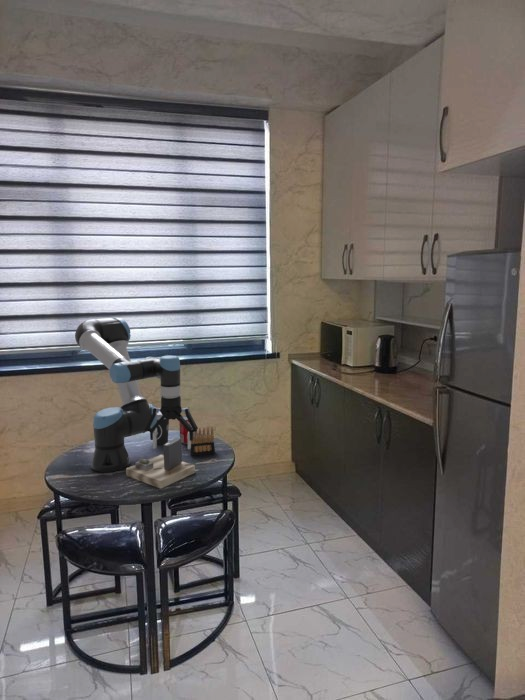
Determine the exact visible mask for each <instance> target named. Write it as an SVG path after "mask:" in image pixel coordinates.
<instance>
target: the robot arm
mask: <svg viewBox="0 0 525 700" xmlns="http://www.w3.org/2000/svg"><path fill="white" fill-rule="evenodd" d="M74 333H75V334H74V338H75V342H76V344H77V346H78V347H80V349H82V350H84V351H85V352H89V353H90V354H91V355H92V356H94V357H95V359H97V360H98V361H99V362H100V363H101V364H102V365H104V367H106V368H107V369H108V370H109V377H110V380H111V381H112V382H113V384H114V383H115V384H116V386H117V389H118V392H119V395H120V399H121V402H122V403H121V405H120V406H119V407H118V406H112V407H107V408H104V409H101V410H99V411H97V412H96V413H95V414H94V415H93V420H92V421H93V424H92V427H93V436H94V438H93V439H94V452H93V456H92V459H91V463H90V464H91V469H92V470H94V471H96V472H102V473H108V472H109V473H111V472H117V471H121V470H123V469H126V468H128V467H129V466H130V463H131V461H130V456H129V453H128V450H127V449H126V446H125V438H129V437H131V436H133V437H134V436H136V435H140V434H145V433H148V432H149V435H150V436H149V439H150V441H152V449H153V450H156V449H157V446H158V445H157V438H156V431H154V430H155V429H156V428H157V426H158V425H159V424H160V423H161V422H162V421H163V419H164V418H166V419H167V420H169V421H170V420H177V421H178V422H179V421H180V422H181V424H182V425H183V426H184V427H185V428H186V429H187V430H188V431H189V432H188V433H187V438H188V444H187V450H190V448H191V441H192V440H193V434H194V433H195V432H196V431H197V432H198V430H199V428H198V426H197V424H196V422H195V420H194V418H193V416H192V414H191V411H190V407H189V406H187V407H185V408H182V400H181V395H182V394H181V393H182V392H181V362H180V361H181V360H180V357H179V356H177V355H170V354H169V355H162V356H161V357H160V358H159V357H156V356H146V357H145V358H144V359H140V360H131V358H130V355H129V352H128V348H127V347H128V345H129V342H130V340H131V336H132V335H131V327H130V326H129V324H128V322H127V321H126V320H125V319H123V318H120V317H109V318H97V319H96V318H95V319H93V318H92V319H87V320H84V321H83V322H81V323H80V324H79V325H78V326H77V328H76V330H75V332H74ZM153 378H157V379H160V381H159V382H160V396H161V397H160V407H157V406H154V404H152V403H148V400H147V398H145V397H143V395H142V392H141V389H140V386H139V383H138V381H140V380H145V379H147V380H148V379H153ZM159 411H160V412H161V413H162V415H163V416H162V417H161V418H160V419H159V420H158V421H157V413H158V412H159ZM181 413H183V414H184V415H185V416H186V417H187V419H188V421H189V422H190V424H191V426H192V427H191V426H190V425H189V424H188V423H187V422H186V420H185V419H184V418H183V417H184V416H183V415H182V414H181ZM156 422H157V423H156Z"/></svg>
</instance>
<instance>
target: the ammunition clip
mask: <svg viewBox="0 0 525 700" xmlns="http://www.w3.org/2000/svg"><path fill="white" fill-rule="evenodd" d="M215 448H216V447H215V434H214V427H213V426H211V428H209V427H208V426H207V427H206V429H205V427H203V428H202V430H201V427H199V428H198V430H197V431H196V432H194V433H193V440H192V441H191V448H190V449H189V450H190V451H189V454H190V456H198V455H208V453H210V454H215V452H216V450H215Z"/></svg>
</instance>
